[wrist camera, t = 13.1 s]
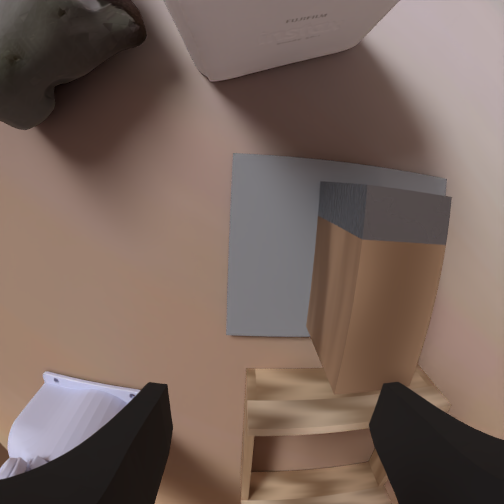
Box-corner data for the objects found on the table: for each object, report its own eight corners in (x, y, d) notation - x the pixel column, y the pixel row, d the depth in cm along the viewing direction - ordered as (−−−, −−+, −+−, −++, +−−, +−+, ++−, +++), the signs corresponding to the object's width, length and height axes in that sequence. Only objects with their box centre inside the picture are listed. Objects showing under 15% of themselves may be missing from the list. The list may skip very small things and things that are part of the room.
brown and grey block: (306, 326, 19) (334, 394, 13) (320, 181, 17) (367, 184, 10) (363, 325, 20) (409, 386, 13) (382, 187, 17) (451, 197, 11)
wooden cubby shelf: (240, 474, 24) (241, 525, 18) (246, 368, 21) (248, 428, 15) (372, 464, 24) (389, 507, 18) (414, 360, 21) (451, 405, 15)
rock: (184, 34, 15) (152, -37, 8) (59, 158, 17) (-24, 156, 9) (65, -55, 12) (27, -96, 4) (-22, 36, 13) (-75, 17, 6)
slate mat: (226, 331, 20) (226, 334, 19) (233, 153, 17) (233, 153, 17) (417, 328, 20) (420, 331, 20) (442, 178, 18) (446, 178, 17)
